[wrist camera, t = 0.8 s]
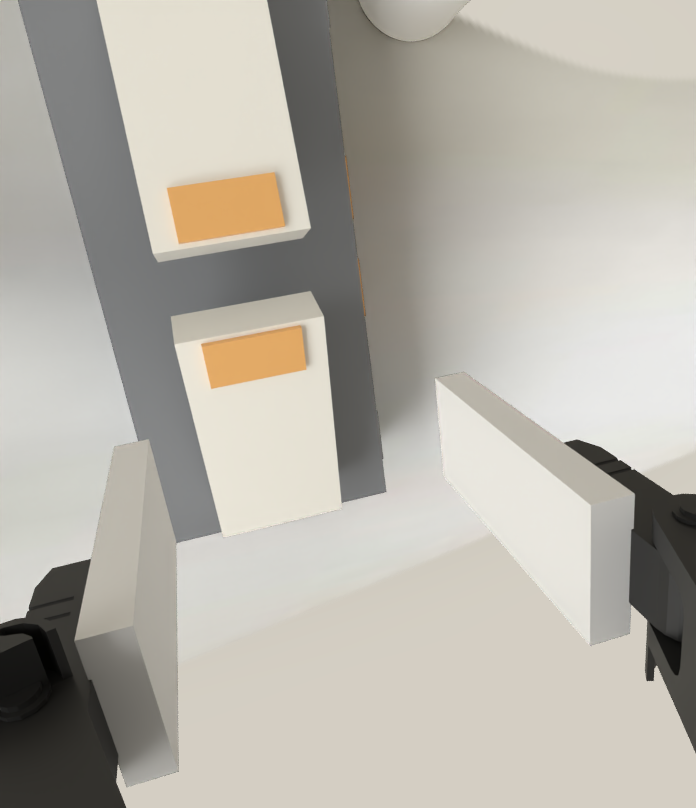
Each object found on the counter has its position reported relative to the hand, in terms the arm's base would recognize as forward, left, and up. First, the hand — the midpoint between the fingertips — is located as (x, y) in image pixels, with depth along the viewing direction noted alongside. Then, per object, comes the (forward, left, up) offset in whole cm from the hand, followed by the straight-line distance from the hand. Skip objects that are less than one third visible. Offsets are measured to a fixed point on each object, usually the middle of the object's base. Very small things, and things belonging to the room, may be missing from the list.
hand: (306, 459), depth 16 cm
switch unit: (0, +2, -23) cm, 23 cm away
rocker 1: (0, +9, -15) cm, 18 cm away
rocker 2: (0, -4, -15) cm, 16 cm away
